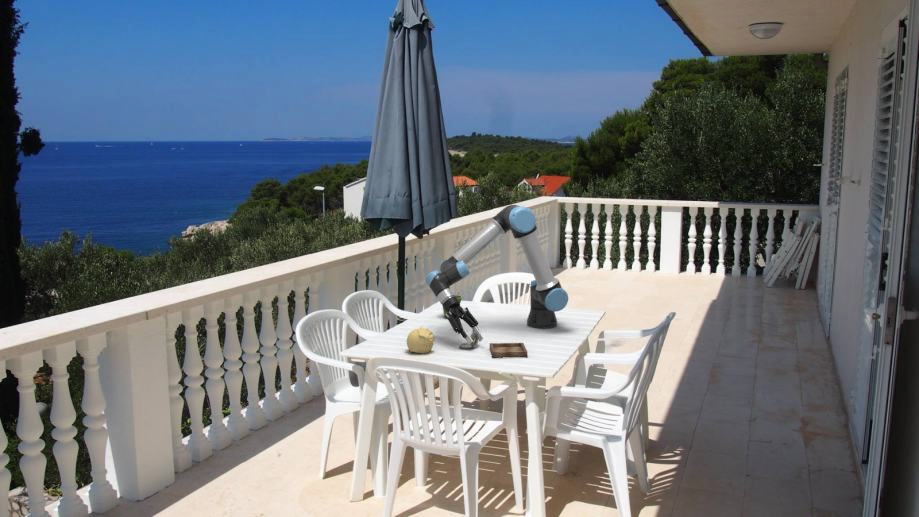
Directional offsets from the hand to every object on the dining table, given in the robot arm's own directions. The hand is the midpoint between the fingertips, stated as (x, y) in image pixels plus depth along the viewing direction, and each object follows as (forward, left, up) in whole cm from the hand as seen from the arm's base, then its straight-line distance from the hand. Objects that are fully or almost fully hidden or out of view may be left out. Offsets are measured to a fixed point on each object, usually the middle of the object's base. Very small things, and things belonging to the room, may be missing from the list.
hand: (476, 341), depth 334 cm
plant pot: (+10, -62, -4) cm, 63 cm away
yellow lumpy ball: (+25, +3, -4) cm, 25 cm away
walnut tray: (-13, +8, -3) cm, 16 cm away
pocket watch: (+3, -2, -4) cm, 5 cm away
